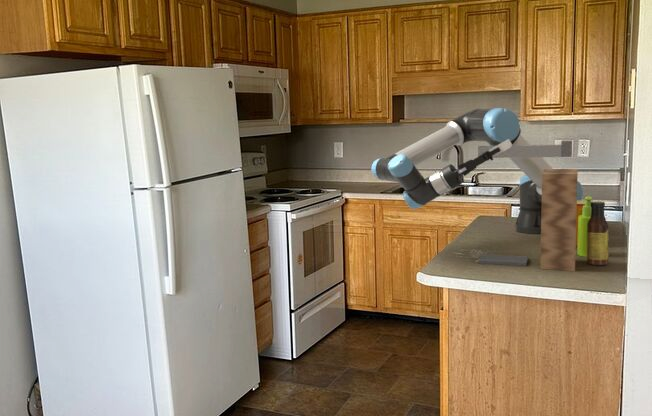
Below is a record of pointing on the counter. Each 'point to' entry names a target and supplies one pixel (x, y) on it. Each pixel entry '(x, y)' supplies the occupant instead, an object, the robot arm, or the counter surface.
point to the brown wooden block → (558, 219)
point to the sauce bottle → (597, 235)
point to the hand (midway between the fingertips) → (509, 142)
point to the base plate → (503, 260)
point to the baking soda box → (579, 212)
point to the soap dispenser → (583, 227)
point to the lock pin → (533, 150)
